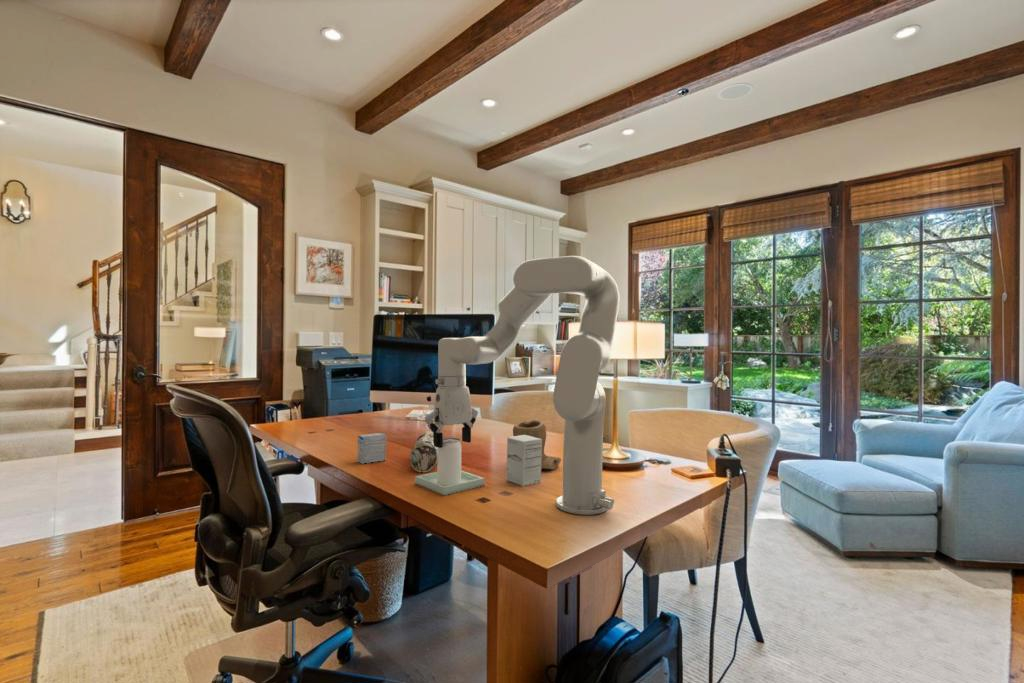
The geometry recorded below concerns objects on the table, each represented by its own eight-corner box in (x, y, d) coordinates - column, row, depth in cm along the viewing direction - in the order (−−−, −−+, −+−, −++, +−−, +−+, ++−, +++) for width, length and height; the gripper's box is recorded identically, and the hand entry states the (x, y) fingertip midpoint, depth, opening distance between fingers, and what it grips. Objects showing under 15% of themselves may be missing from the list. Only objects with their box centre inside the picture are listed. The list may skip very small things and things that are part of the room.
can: (462, 480, 137) (463, 437, 137) (458, 487, 130) (459, 442, 130) (440, 479, 137) (441, 437, 137) (434, 486, 131) (435, 441, 131)
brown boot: (506, 471, 150) (507, 422, 150) (515, 462, 161) (516, 416, 161) (555, 475, 146) (556, 425, 146) (561, 465, 158) (561, 419, 158)
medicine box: (379, 458, 163) (380, 432, 163) (385, 461, 159) (386, 434, 159) (357, 461, 157) (357, 435, 157) (362, 464, 154) (363, 437, 154)
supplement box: (505, 480, 139) (506, 436, 139) (524, 476, 144) (525, 434, 144) (522, 487, 134) (523, 441, 134) (541, 482, 139) (542, 438, 139)
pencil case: (437, 473, 146) (438, 441, 146) (408, 473, 145) (409, 441, 145) (441, 456, 168) (442, 428, 168) (416, 456, 167) (417, 427, 167)
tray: (484, 485, 134) (484, 478, 134) (444, 495, 125) (444, 487, 125) (454, 475, 144) (454, 468, 144) (415, 483, 135) (415, 476, 135)
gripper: (434, 385, 126) (434, 451, 125) (484, 381, 138) (485, 441, 137) (417, 383, 131) (418, 447, 131) (468, 380, 143) (468, 438, 143)
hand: (452, 444), depth 134 cm, fingers open, 9 cm apart
